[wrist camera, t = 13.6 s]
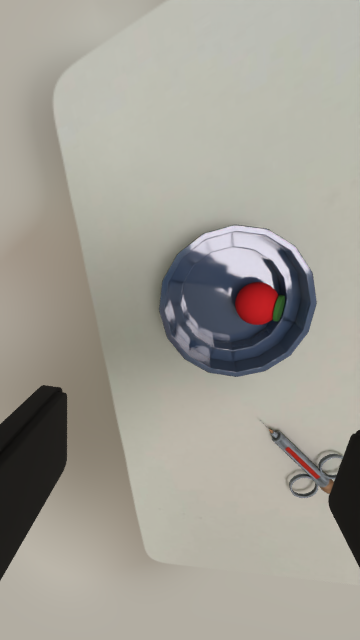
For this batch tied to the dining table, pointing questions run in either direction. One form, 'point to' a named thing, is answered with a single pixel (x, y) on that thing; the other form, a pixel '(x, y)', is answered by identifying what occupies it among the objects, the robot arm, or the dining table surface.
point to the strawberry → (259, 303)
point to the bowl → (220, 295)
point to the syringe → (305, 466)
